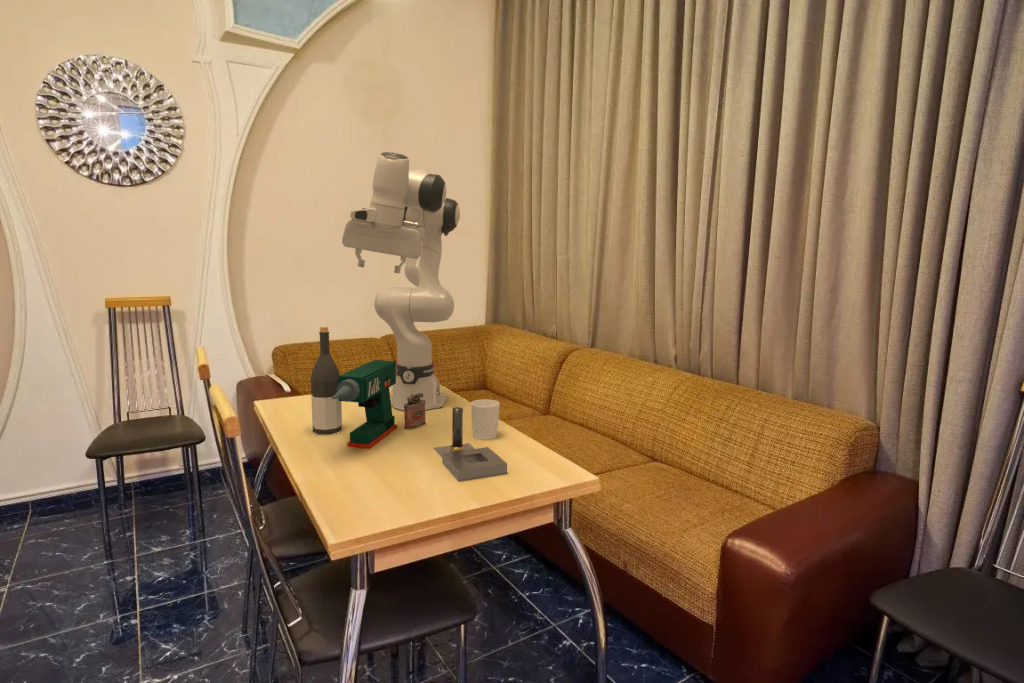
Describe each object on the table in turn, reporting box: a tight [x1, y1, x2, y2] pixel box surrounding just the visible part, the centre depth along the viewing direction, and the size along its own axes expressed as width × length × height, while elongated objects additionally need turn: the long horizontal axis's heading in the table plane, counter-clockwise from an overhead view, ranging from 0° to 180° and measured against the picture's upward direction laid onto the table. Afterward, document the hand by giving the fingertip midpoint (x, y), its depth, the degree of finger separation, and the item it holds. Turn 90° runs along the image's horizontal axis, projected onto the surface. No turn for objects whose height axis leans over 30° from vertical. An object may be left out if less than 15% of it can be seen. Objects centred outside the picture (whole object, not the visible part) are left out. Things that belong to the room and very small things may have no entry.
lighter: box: [403, 393, 427, 431], centre depth 173 cm, size 8×3×10 cm, turn 147°
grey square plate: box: [433, 442, 476, 458], centre depth 153 cm, size 10×10×1 cm
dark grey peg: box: [449, 406, 464, 452], centre depth 152 cm, size 4×4×12 cm
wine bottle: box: [310, 325, 343, 435], centre depth 167 cm, size 8×8×30 cm
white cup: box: [470, 398, 501, 441], centre depth 165 cm, size 8×8×10 cm
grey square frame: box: [441, 446, 508, 482], centre depth 142 cm, size 12×12×3 cm
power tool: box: [332, 359, 398, 450], centre depth 156 cm, size 32×7×20 cm, turn 168°
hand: (379, 269), depth 156 cm, fingers open, 8 cm apart
